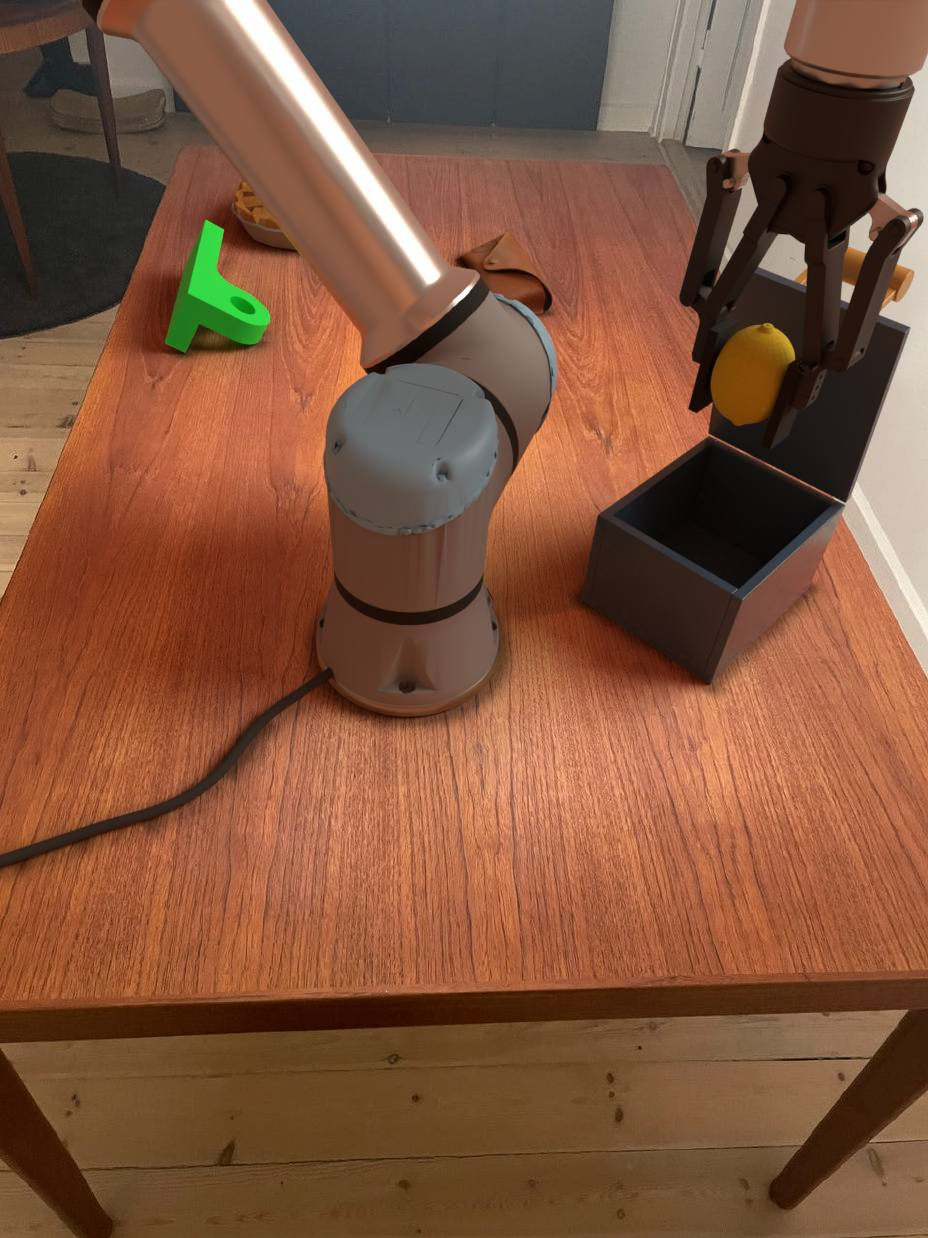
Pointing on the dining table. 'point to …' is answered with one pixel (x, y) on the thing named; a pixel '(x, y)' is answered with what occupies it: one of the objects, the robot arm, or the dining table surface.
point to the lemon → (750, 373)
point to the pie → (257, 219)
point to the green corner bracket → (213, 299)
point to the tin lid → (846, 402)
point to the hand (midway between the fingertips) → (737, 421)
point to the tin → (707, 555)
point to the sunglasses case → (510, 272)
